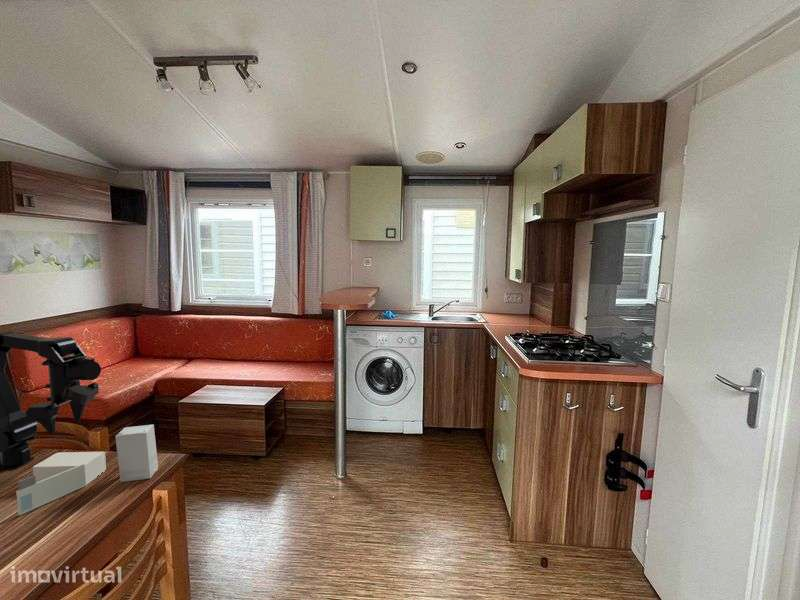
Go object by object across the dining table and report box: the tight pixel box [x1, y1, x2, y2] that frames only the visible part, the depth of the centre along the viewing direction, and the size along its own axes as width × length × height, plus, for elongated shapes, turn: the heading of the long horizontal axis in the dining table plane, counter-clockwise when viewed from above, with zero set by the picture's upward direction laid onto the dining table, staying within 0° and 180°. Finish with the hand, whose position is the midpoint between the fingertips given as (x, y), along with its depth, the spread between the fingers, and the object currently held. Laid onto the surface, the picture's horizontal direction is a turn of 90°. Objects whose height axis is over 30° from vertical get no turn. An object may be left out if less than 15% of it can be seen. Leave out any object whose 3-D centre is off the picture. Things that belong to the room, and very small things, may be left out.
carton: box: [32, 451, 107, 486], centre depth 108 cm, size 14×8×6 cm, turn 94°
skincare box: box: [115, 424, 159, 483], centre depth 109 cm, size 8×6×15 cm
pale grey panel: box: [15, 464, 87, 516], centre depth 97 cm, size 14×1×9 cm, turn 155°
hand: (65, 427), depth 113 cm, fingers open, 9 cm apart
